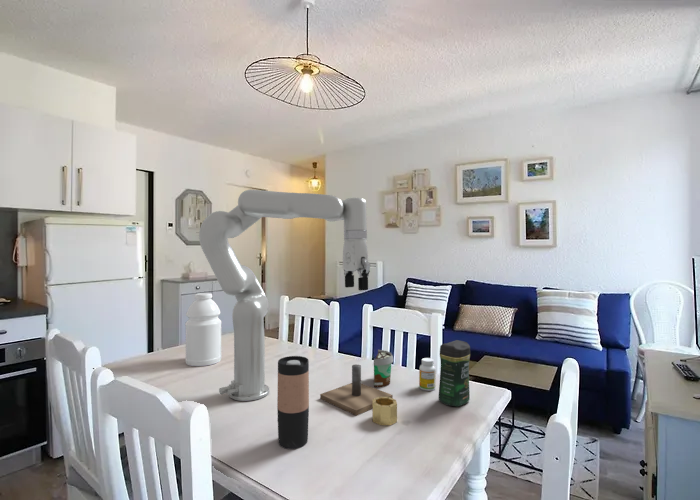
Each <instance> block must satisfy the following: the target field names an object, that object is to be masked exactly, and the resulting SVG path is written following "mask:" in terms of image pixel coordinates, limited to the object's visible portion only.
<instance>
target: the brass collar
mask: <svg viewBox="0 0 700 500" xmlns="http://www.w3.org/2000/svg"><path fill="white" fill-rule="evenodd" d="M371 413H372V417H371V418H372V422H373V423H374V424H376V425H378V426H393V425H394V424H396V423H398V402H397V399H396V398H390V397H377V398H375V399H372V409H371Z"/></svg>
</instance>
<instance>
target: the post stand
mask: <svg viewBox="0 0 700 500" xmlns="http://www.w3.org/2000/svg"><path fill="white" fill-rule="evenodd" d="M319 396H320V397H319V399H320V400H322V401H324V402H327V403H328V404H330V405H333V406H334V407H337V408H338V409H340V410H344V411H345V412H348V413H350V414H352V415H354V416H355V417H357V416H360V415H361V414H363V413H366V412H368V411H370V410H371V411H372V399H375V398H377V397H390V398H393V394H392V393H389V392H386V391H384V390H381V389H378V388H377V387H374V386H370V385H367V384H365V383H362V365H360V364H352V365H351V383H348V384H345V385H342V386H339V387H336V388H334V389H330V390H328V391H325V392H323V393H320V394H319ZM393 399H394V398H393Z"/></svg>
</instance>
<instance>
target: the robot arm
mask: <svg viewBox="0 0 700 500" xmlns="http://www.w3.org/2000/svg"><path fill="white" fill-rule="evenodd" d="M367 208H368V207H367V200H366V199H365V198H363V197H349V198H345V199H344V200H343V199H340V198H339V197H337V196H335V195H333V194H322V193H320V194H319V193H309V192H307V193H306V192H289V191H288V192H286V191H285V192H284V191H273V190H263V189H262V190H261V189H260V190H259V189H247V190H244V191H242V192H241V193H240V194H239V195H238V198H237V205H236V206H235V207H234V208H232V209H231V210H230V211H228V212H227V211H223V210H218V211H214V212H211V213H209V215H207V216H206V217H205V218H204V220H203V221H202V223H201V225H200V228H199V232H198V239H199V244H200V248H201V250H202V251H203V254H204V256H205V258H206V260H207V262H208V264H209V266H210V268H211V270H212V272H213V274H214V276H215V278H216V280H217V281H218V284H219V286H220V288H221V290H222V291H223V292H224V293H225V294H227V295H229V296H232V297H233V296H234V297H235V299H236V301H237V302H236V303H235V305H234V306H233V309H232V315H231V316H232V318H231V319H232V328H233V357H234V358H233V368H234V369H233V380H231V381H230V384H228V385H227V386H221V387H219V388H218V392H219V394H220V395H224V394H227V395H228V396H229V398H230V399H232V400H234V401H241V402H247V401H256V400H261V399H263V398H265V397H266V396H267V395H269V394H270V387H269V386H268V385H267V384H265V355H266V354H265V352H266V351H265V324H264V318H265V316H266V315H267V314H268V312H269V308H270V302H269V299H268V297H267V296H266V293H265V291H264V289H263V288H262V286H261V284H260V282H259V280H258V277H257V276H256V274H255V273H254V271H253V270H252V269H251V268H250V267H248V266H247V265H245V264H241V262H240V261H239V259H238V257H237V255H236V252H235V250H234V249H233V248H232V246H231V244H230V243H229V239H233V238H236V237H238V236H240V235H242V233H244V232H245V231H247V230H248V229H249V228H250V227H252V226H253V225H254V224H256V223H257V222H258V221H260V220H261V219H262V218H271V219H282V220H283V219H285V220H291V219H292V220H293V219H299V218H306V219H307V218H310V219H311V218H312V219H320V220H321V219H322V220H323V219H324V220H325V221H328V222H338V221H340V222H341V221H343V248H342V269H343V271H344V273H343V274H344V288H354V287H355V274H354V272H356V273H358V282H357V283H358V284H357V287H358V291H361V292H362V291H368V290H369V277H370V275H369V274H370V272H371V271H370V269H371V263H370V262H369V255H368V254H369V250H368V245H367V244H368V242H367V241H368V225H367V224H368V222H367V221H368V220H367V219H368V217H367V215H368V214H367Z"/></svg>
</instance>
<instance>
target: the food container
mask: <svg viewBox="0 0 700 500" xmlns="http://www.w3.org/2000/svg"><path fill="white" fill-rule="evenodd" d="M393 363H394V356H393V353H392V352H390V351H387V350H384V349H377V354H376V356H375V358H373V388H384V387H387V386H390V384H391V376H392V375H391V374H392V373H391V372H392V364H393Z"/></svg>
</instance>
